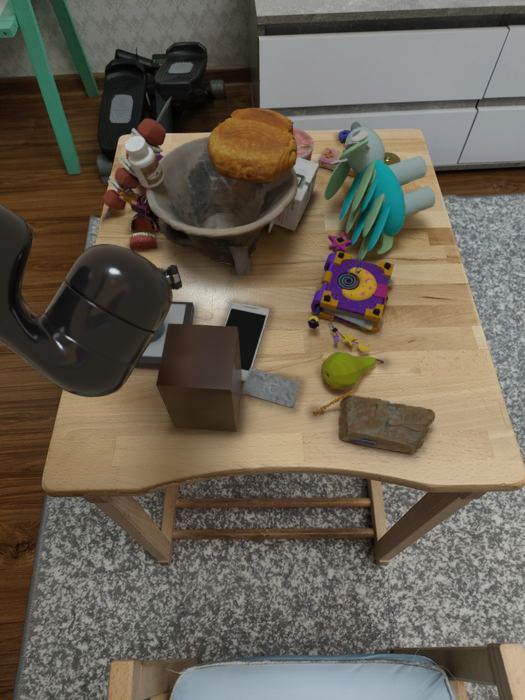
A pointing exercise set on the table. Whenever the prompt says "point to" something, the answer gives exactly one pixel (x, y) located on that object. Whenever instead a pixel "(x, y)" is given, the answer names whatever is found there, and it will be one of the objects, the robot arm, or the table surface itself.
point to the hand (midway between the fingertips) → (125, 284)
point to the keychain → (332, 402)
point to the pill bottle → (144, 162)
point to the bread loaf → (253, 146)
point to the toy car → (137, 203)
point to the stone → (383, 423)
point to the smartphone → (247, 331)
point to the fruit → (345, 369)
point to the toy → (331, 156)
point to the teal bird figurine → (377, 189)
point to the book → (351, 291)
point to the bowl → (215, 206)
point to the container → (303, 144)
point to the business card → (271, 387)
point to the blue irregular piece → (343, 135)
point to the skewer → (126, 175)
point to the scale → (176, 315)
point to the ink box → (298, 195)
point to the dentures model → (143, 238)
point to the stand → (201, 376)
